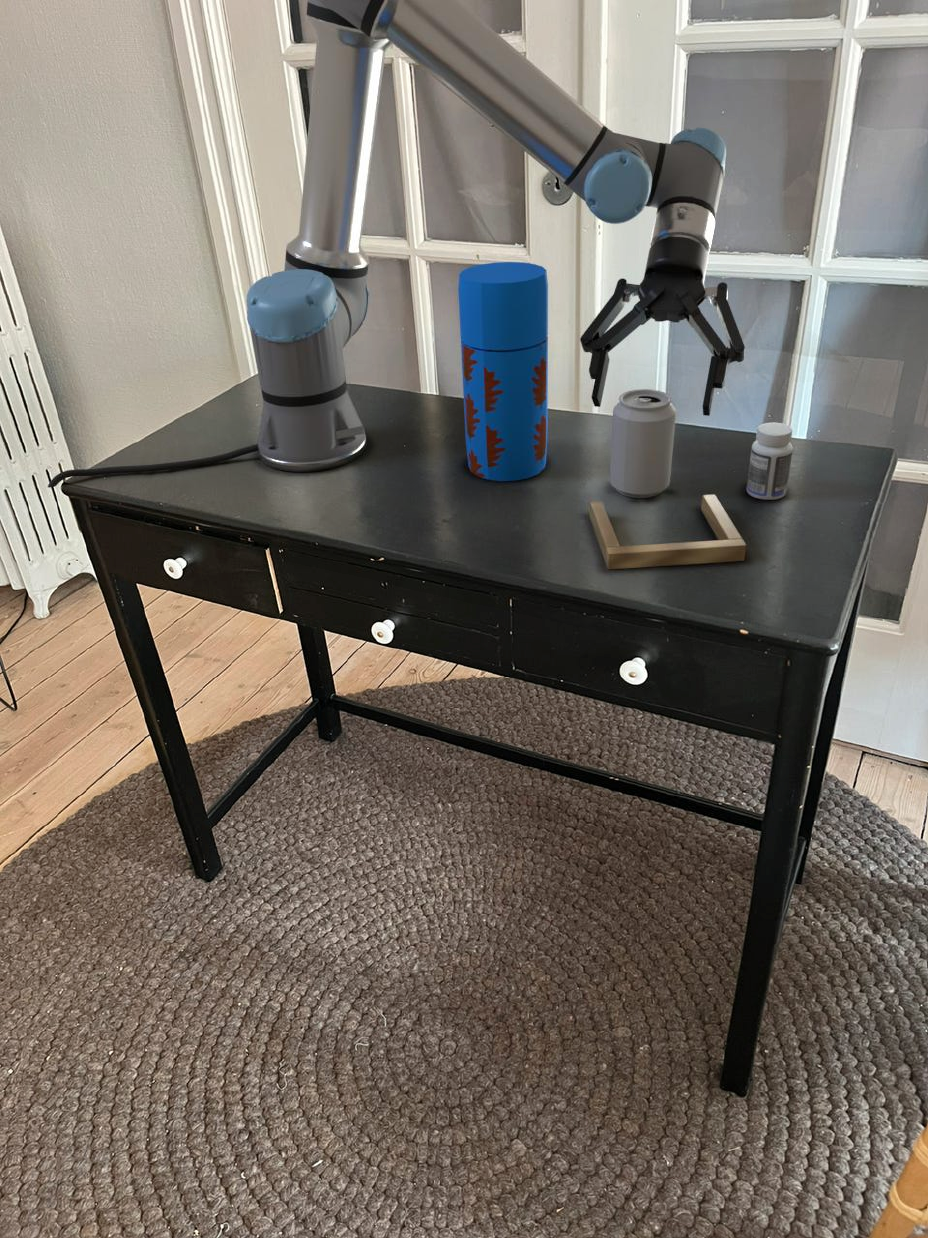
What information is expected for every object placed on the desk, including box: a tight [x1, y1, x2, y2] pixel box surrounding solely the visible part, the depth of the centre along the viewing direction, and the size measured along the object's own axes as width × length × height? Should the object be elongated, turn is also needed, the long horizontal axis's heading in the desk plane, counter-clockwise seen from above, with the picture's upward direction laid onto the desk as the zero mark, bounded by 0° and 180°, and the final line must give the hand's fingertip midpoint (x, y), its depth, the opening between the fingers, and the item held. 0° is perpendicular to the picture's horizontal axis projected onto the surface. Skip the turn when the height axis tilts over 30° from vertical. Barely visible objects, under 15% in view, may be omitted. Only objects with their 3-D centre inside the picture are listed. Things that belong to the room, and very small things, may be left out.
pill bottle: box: [746, 421, 794, 501], centre depth 111 cm, size 5×5×8 cm
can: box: [609, 388, 677, 499], centre depth 113 cm, size 8×8×12 cm
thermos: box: [457, 261, 549, 482], centre depth 117 cm, size 11×11×25 cm
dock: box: [589, 494, 747, 570], centre depth 105 cm, size 15×12×2 cm
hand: (649, 406), depth 113 cm, fingers open, 13 cm apart
